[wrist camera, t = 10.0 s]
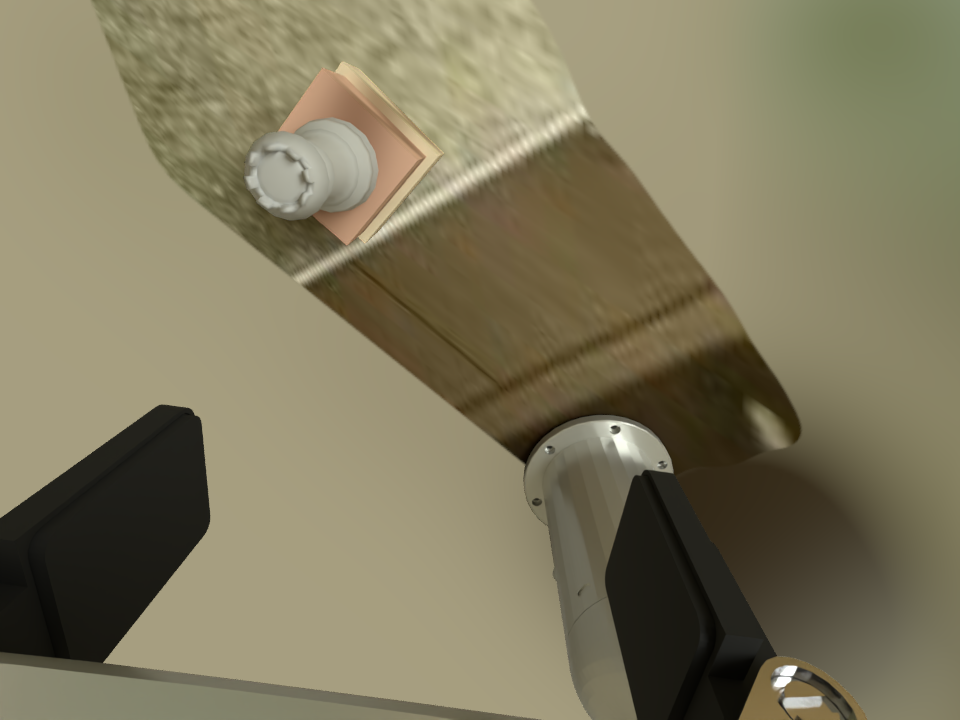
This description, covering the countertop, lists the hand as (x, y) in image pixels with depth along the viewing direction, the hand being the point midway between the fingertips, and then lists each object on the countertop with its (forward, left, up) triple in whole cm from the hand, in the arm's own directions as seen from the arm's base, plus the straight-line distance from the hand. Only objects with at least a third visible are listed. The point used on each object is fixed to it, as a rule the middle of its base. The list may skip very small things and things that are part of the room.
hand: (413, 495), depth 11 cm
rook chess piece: (+5, +7, -19) cm, 21 cm away
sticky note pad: (+5, +7, -27) cm, 28 cm away
